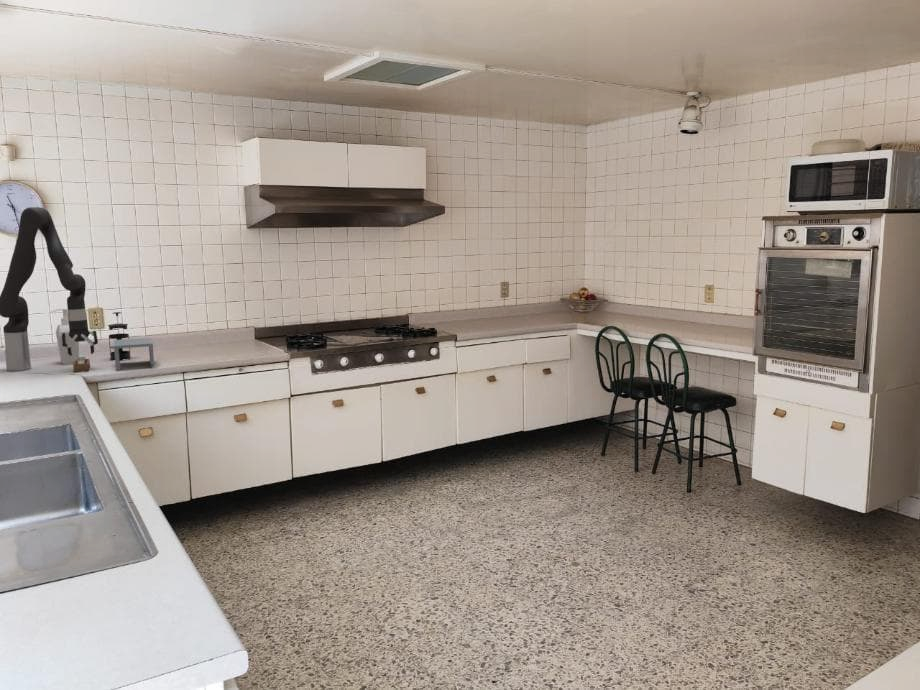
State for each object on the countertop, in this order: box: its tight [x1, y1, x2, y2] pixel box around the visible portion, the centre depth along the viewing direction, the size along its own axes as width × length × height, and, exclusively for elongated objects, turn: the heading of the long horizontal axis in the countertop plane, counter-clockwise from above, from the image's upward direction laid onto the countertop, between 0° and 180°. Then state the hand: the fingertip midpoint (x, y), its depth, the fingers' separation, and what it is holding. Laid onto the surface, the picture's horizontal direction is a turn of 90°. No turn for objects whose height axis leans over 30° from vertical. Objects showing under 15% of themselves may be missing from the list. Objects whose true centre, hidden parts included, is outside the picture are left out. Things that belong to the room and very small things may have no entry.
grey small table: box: [113, 337, 155, 371], centre depth 341 cm, size 16×20×11 cm
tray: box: [72, 356, 91, 373], centre depth 334 cm, size 14×6×5 cm, turn 25°
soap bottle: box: [50, 308, 80, 365], centre depth 349 cm, size 12×10×26 cm
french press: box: [107, 311, 132, 361], centre depth 358 cm, size 12×9×23 cm
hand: (81, 354), depth 333 cm, fingers open, 8 cm apart
